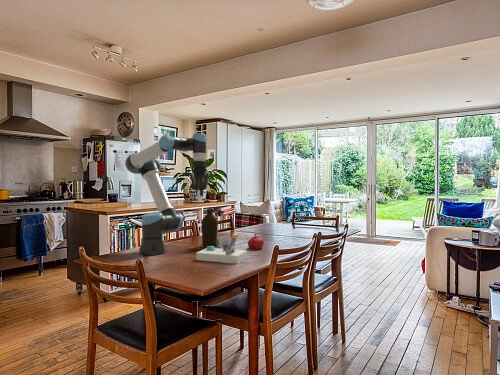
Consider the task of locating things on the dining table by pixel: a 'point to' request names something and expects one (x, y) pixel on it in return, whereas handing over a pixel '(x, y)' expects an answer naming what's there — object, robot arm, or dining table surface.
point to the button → (210, 248)
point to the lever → (233, 241)
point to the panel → (222, 255)
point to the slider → (225, 246)
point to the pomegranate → (255, 242)
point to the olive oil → (209, 229)
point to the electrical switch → (222, 241)
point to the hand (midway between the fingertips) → (199, 201)
